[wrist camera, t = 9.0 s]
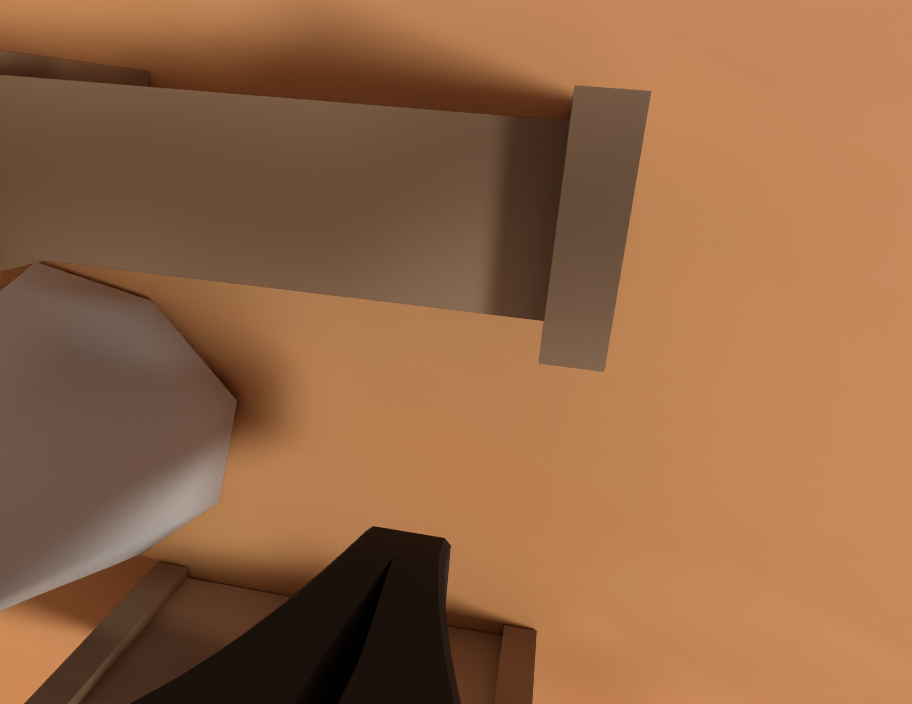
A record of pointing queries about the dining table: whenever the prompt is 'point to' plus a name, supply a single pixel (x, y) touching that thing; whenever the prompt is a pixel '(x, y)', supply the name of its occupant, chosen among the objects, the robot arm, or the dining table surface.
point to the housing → (312, 264)
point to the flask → (98, 430)
